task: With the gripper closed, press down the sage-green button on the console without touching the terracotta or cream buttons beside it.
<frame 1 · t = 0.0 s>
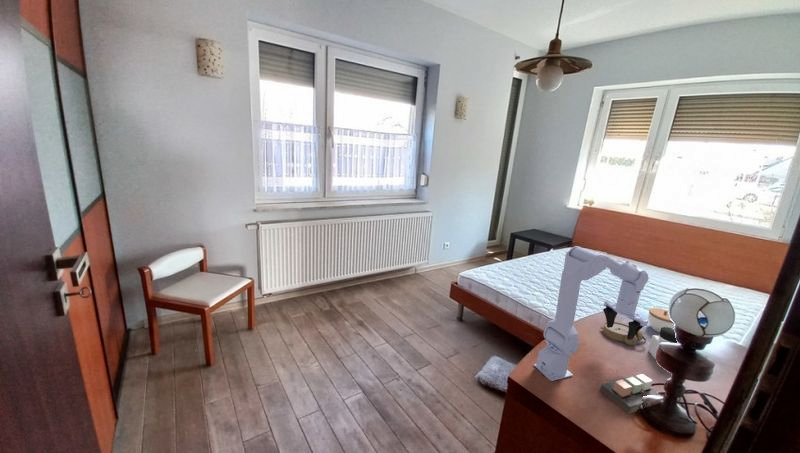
hand: (619, 332, 111), 10 cm above the table, fingers open, 7 cm apart
button sage: (631, 389, 94), point 3 cm above the table, slide at 0.0 cm
alarm clock: (622, 338, 126), on the table
lidded jar: (660, 330, 133), on the table
button cream: (641, 386, 96), point 3 cm above the table, slide at 0.0 cm
medicine bottle: (663, 358, 114), on the table
console: (629, 397, 95), on the table
button terracotta: (621, 392, 93), point 3 cm above the table, slide at 0.0 cm
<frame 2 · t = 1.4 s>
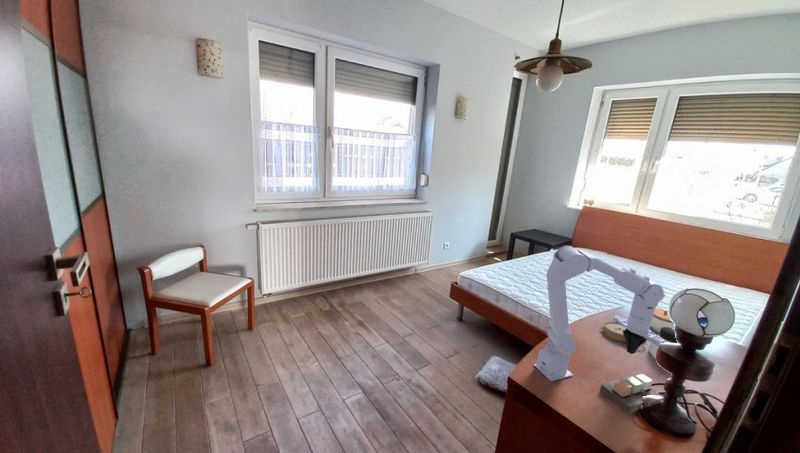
hand: (630, 352, 100), 10 cm above the table, fingers closed
nothing on the table moved.
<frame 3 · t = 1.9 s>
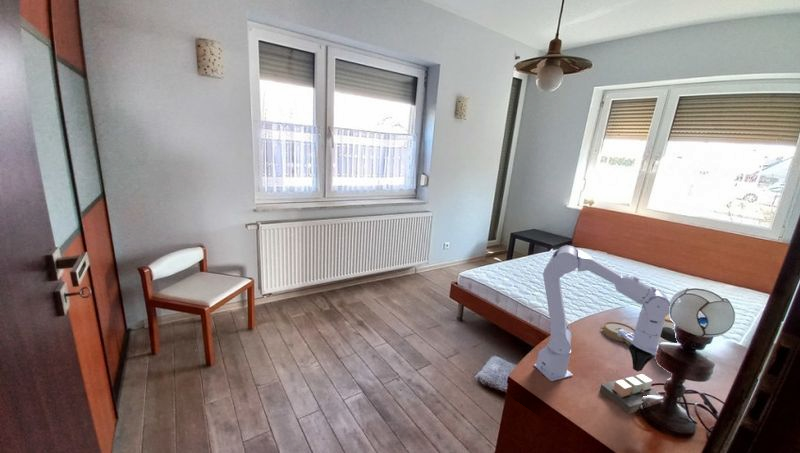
hand: (637, 369, 92), 10 cm above the table, fingers closed
nothing on the table moved.
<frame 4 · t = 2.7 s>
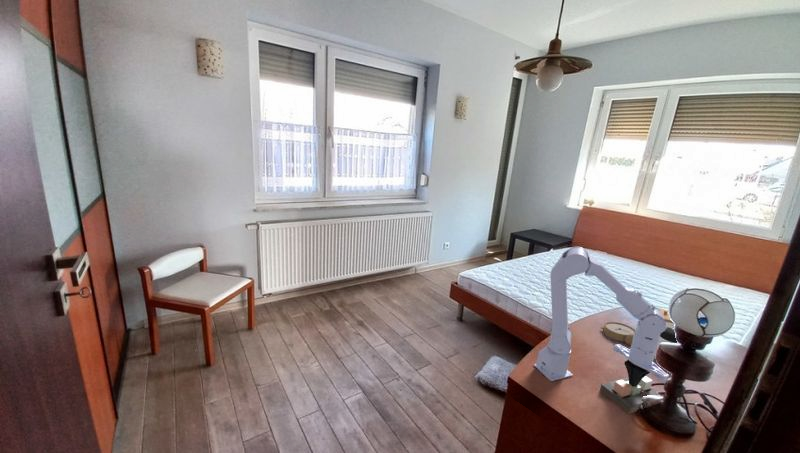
hand: (633, 384, 94), 5 cm above the table, fingers closed, pressing on button sage
button sage: (630, 392, 95), point 2 cm above the table, slide at 1.3 cm, touching gripper
everything else where it was.
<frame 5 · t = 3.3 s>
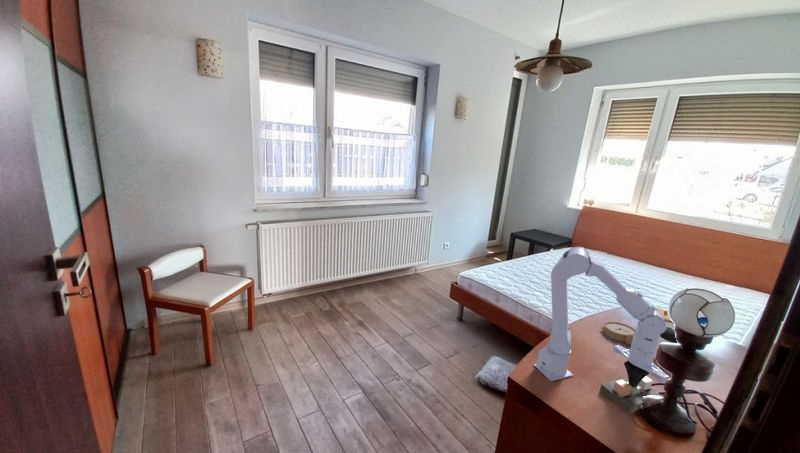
hand: (632, 385, 94), 4 cm above the table, fingers closed, pressing on button sage
button sage: (630, 393, 95), point 1 cm above the table, slide at 1.6 cm, touching gripper
everything else where it was.
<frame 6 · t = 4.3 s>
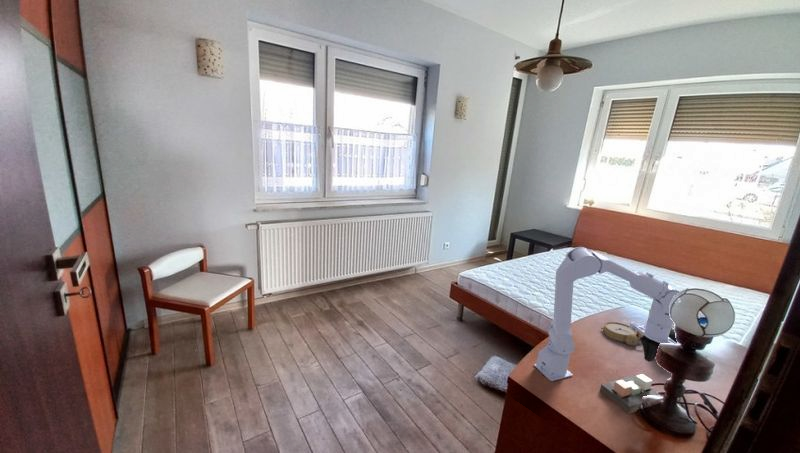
hand: (648, 359, 97), 10 cm above the table, fingers closed
button sage: (630, 393, 95), point 1 cm above the table, slide at 1.6 cm
everything else where it was.
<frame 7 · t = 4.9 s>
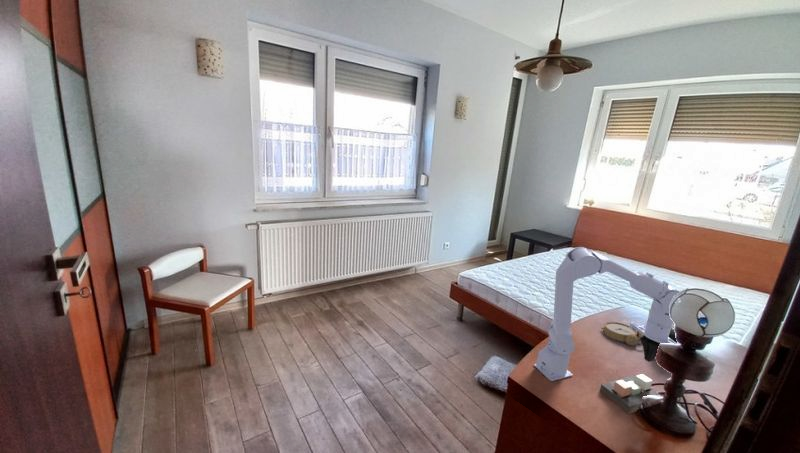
hand: (648, 359, 97), 10 cm above the table, fingers closed
nothing on the table moved.
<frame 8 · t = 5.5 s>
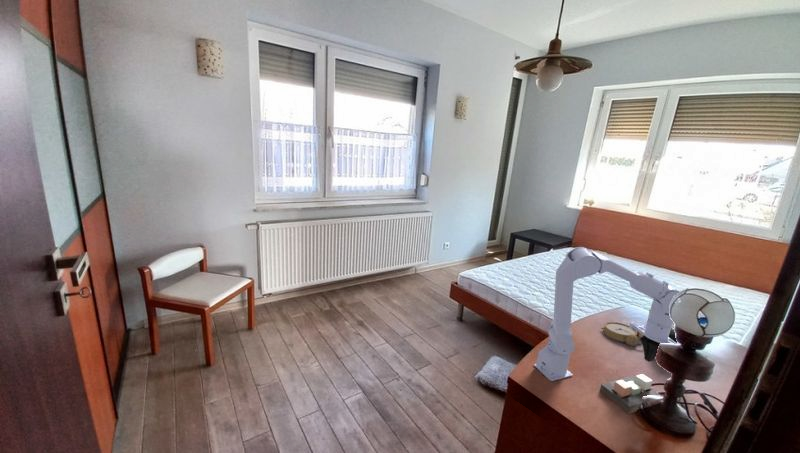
hand: (648, 359, 97), 10 cm above the table, fingers closed
nothing on the table moved.
at the end: button sage slide at 1.6 cm; button terracotta slide at 0.0 cm; button cream slide at 0.0 cm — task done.
